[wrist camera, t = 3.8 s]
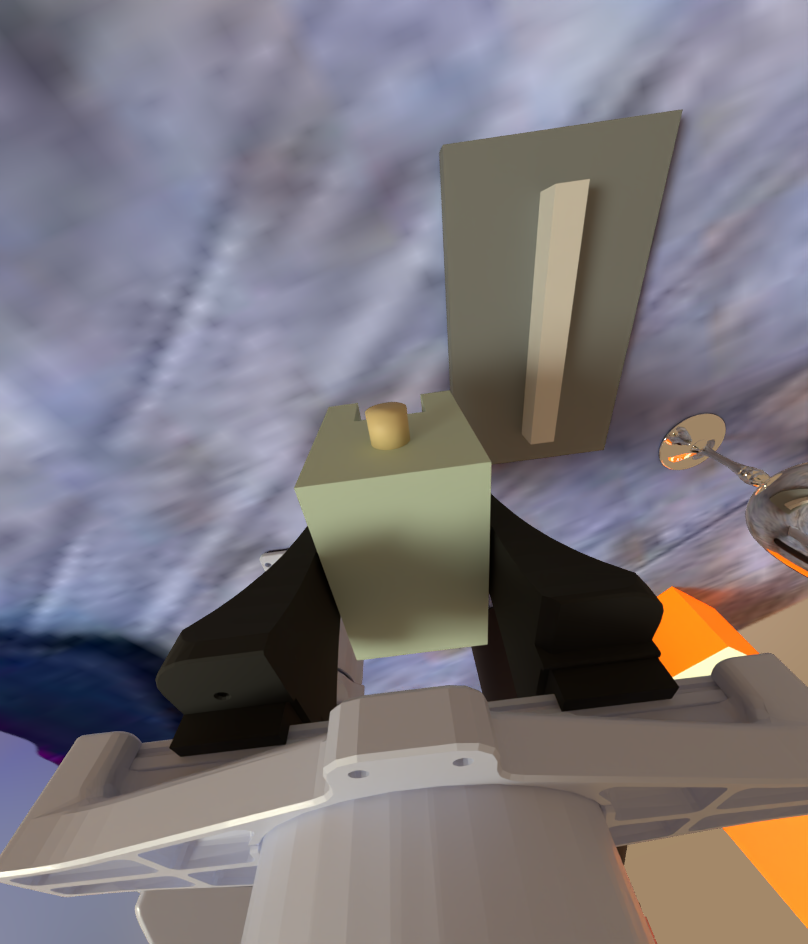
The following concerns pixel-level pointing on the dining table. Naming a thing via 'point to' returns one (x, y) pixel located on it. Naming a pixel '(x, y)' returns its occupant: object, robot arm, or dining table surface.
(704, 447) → the wineglass
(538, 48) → the dining table surface
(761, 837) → the orange juice
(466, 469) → the cabinet block
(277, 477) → the dining table surface
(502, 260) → the cleat board
